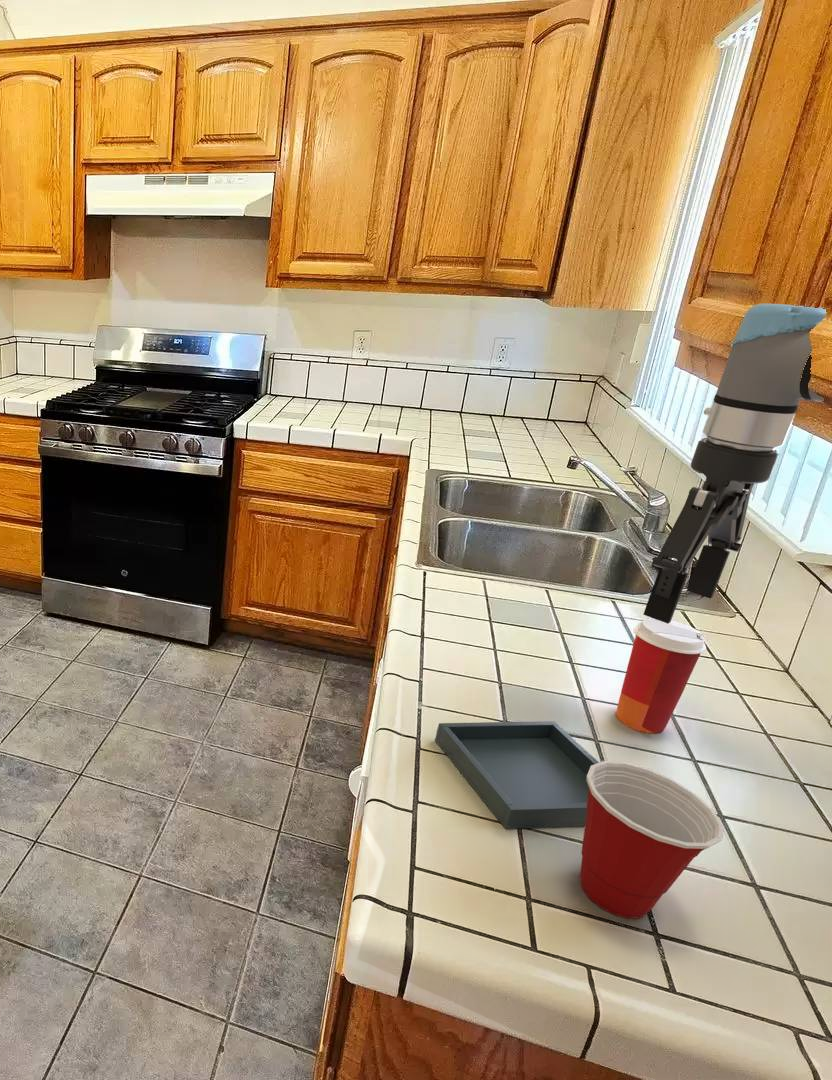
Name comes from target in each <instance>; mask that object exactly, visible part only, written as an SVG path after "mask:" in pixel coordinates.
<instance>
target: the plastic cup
mask: <svg viewBox="0 0 832 1080" xmlns="http://www.w3.org/2000/svg"><path fill="white" fill-rule="evenodd" d="M586 781H587V783H588V786H589V787H588V789H589V791H588V802H587V815H586V823H585V826H584V830H583V838H582V846H581V863H580V864H581V865H580V870H579V879H580V881H579V882H580V886H581V889H582V891H583V892H584V894H585V895H586V896H587V897H588V899H589V900H590V901H591V902H592V903H594V904H595V905H597V906H598V907H599V908H601V910H604V911H607V912H609V913H610V914H612V915H614V916H618V917H622V918H625V919H640V918H643V917H644V916H646V915H647V914H648V913H649V912H651V911H652V909H653V908H654V907H655V906H656V904H657V903H658V901H659V900H660V899H661V897H662V896H663V895H664V894H666V893H667V892H668V891H669V889H670V888H671V887H672V886H673V884H674V883H675V882H676V881H677V880H678V878H679V877H680V876H681V875H682V873H683V872H684V871H685V869H687V867H688V866H689V865H690V863H691V862H692V861H693V860H694V859H695V858H696V857H697V856H699V855H700V853H702V852H703V851H705V850H707V849H709V848H712V846H714V845H717V844H718V843H720V842H722V841H723V839H724V830H725V826H724V825H723V823H722V822H721V820H720V818H719V816H718V815H717V813H716V811H715V810H714V809H713V808H712V807H711V806H710V805H708V804H707V803H706V802H705V801H704V800H703V799H702V798H701V797H700V796H699V795H697V793H695V792H693V791H692V790H690V789H688V788H687V787H685V786H684V785H682V784H680V783H679V782H677V781H676V780H674V779H673V778H671V777H668V776H666V775H663V774H661V773H659V772H657V771H655V770H652V769H650V768H648V767H644V766H640V765H638V764H633V763H629V762H626V761H615V760H614V761H613V760H601V761H599V763H597V764H594V765H592V766H591V767H590V769H589V772H588V774H587V779H586Z"/></svg>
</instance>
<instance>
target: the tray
mask: <svg viewBox="0 0 832 1080" xmlns="http://www.w3.org/2000/svg"><path fill="white" fill-rule="evenodd" d="M434 741H435V742H436V744H437V745H438V746H439V747H440V749H441V750H442V752H444V754H445V755H446V756H447V757H448V759H449V760H450V761H451V762H452V764H453V765H454V766H455V767H456V769H457V770H458V771H459V773H461V775H462V776H463V778H464V779H465V780H466V781H467V783H468V784H469V785H470V786H471V787H472V789H473V790H474V791H475V793H476V794H477V795H478V797H479V798H480V799H481V800H482V801H483V802H484V804H485V805H486V806H487V808H488V809H489V810H490V811H491V813H492V814H493V815H494V816H495V818H496V819H497V820H498V822H499V823H500V824H501V825H502V826H503V828H504V829H505V830H515V829H517V830H518V829H519V830H521V829H542V828H543V829H547V828H548V829H549V828H576V827H577V828H578V827H585V823H586V815H587V802H588V791H589V789H588V787H589V786H588V783H587V781H586V779H587V774H588V772H589V769H590V767H591V766H592V765H594V764H597V763H600V761H598V760H597V759H596V758H595V757H594V756H593V755H592V754H591V753H589V752H588V750H587V749H585V748H584V747H583V746H582V745H581V744H580V743H578V741H576V740H575V738H573V737H572V736H571V735H570V734H569V733H568V732H567V731H566V730H565V729H563V728H562V727H561V725H559V724H558V723H557V722H556V721H555V720H543V721H540V720H539V721H538V720H537V721H536V720H535V721H491V722H490V721H489V722H488V721H487V722H486V721H485V722H483V721H481V722H439V723H438V726H437V730H436V734H435V738H434Z"/></svg>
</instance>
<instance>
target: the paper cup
mask: <svg viewBox="0 0 832 1080" xmlns="http://www.w3.org/2000/svg"><path fill="white" fill-rule="evenodd" d="M632 632H633V634H635V636H634V641H633V645H632V648H631V651H630V652H631V653H630V656H629V660H628V663H627V668H626V671H625V675H624V679H623V683H622V686H621V690H620V694H619V700H618V702H617V707H616V713H615V716H616V719H618V721H620V722H621V723H622V724H624V725H625V726H627V727H629V728H631V729H633V730H635V731H637V732H638V731H639V732H642V733H645V734H646V733H647V734H656V735H657V734H661V733H663V732H664V731H665V729H666V727H667V725H668V724H669V721H670V719H671V718H672V715H673V713H674V712H675V709H676V708H677V705H678V703H679V701H680V699H681V697H682V695H683V693H684V690H686V689H685V688H686V687H687V684H688V681H689V679H690V678H691V675H692V673H693V671H694V669H695V667H696V665H697V663H698V661H699V658H700V656H701V654H702V653H705V652H706V651H707V646H706V643H705V640H704V636H703V633H702V632H700V631H699V630H697V629H696V628H694V627H692V626H690V625H688V624H685V623H682V622H679V621H676V620H672V619H671V622H670V623H668V624H667V623H665V622H662V621H659V620H657V619H654V618H651V617H649V618H645V619H643V620H642V621H640V622H638V624H637V625H636V626H635V627H633V628H632Z"/></svg>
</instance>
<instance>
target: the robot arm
mask: <svg viewBox="0 0 832 1080" xmlns="http://www.w3.org/2000/svg"><path fill="white" fill-rule="evenodd" d="M795 305H796V304H786V303H785V304H784V303H783V304H782V303H758V304H755V305H753V306H751V307H750V308H748V309H747V311H746V312H745V314H744V316H743V318H742V320H741V323H740V326H739V327H738V329H737V332H736V334H735V336H734V339H733V341H731V342H730V351H729V354H728V357H727V360H726V363H725V366H724V369H723V371H722V375H721V378H720V381H719V383H718V387H717V390H716V392H715V394H714V396H713V397H714V398H713V401H712V404H711V407H706V408H705V409H704V410H703V415H705V416H707V419H706V420H705V424H704V427H703V429H702V434H703V435H704V436H705V437H703V438H702V439H701V440H698V442H697V445H696V448H695V450H694V452H693V456H692V459H691V462H690V469H692V470H693V471H695V472H696V473H698V474H702V475H703V476H704V477H705V480H704V482H703V484H702V486H701V487H700V486H699V487H696V486H692V487H691V488H690V489H689V491H688V495H687V497H686V500H685V503H684V505H683V507H682V509H681V511H680V513H679V514H678V517H677V518H676V520H675V522H674V524H673V526H672V528H671V529H670V532H669V534H668V535H667V537H666V540H665V542H664V544H663V545H662V547H661V549H660V551H659V553H658V555H657V557H656V558H655V557H654V558H653V559H652V562H651V565H652V566H654V567H657V568H659V569H658V572H657V574H656V577H655V580H654V583H653V586H652V588H651V590H650V594H649V596H648V600H647V603H646V606H645V608H644V611H643V616H645V617H649V618H654V619H657V620H659V621H662V622H665V623H667V624H668V623H670V622H671V620H672V619H673V617H674V614H675V611H676V608H677V606H678V603H679V600H680V598H681V595H682V592H683V590H684V588H685V584H686V581H687V578H688V577H689V572H687V571H688V569H689V567H690V565H691V564H692V562H693V561H694V559H695V557H696V556H697V554H698V552H699V551H700V549H701V551H700V553H699V556H698V559H697V561H696V564H695V566H694V570H693V572H692V575H691V577H690V580H689V583H688V585H687V589H686V592H689V593H692V594H695V595H697V596H701V597H704V598H707V599H712V598H713V597H714V594H715V591H716V589H717V587H718V584H719V582H720V579H721V577H722V574H723V571H724V569H725V566H726V564H727V560H728V559H729V556H730V553H731V551H732V552H736V553H738V552H739V551H740V549H741V548H742V544H741V543H739V541H741V539H742V533H743V528H744V524H745V520H746V515H747V511H748V507H749V502H750V498H751V494H752V491H753V488H754V485H756V484H763V483H766V482H767V481H769V480H770V479H771V475H772V474H773V471H774V468H775V465H776V463H777V460H778V458H779V455H780V453H778V450H777V448H781V447H783V446H784V444H785V442H786V440H787V437H788V434H789V431H790V429H791V427H792V424H793V422H794V419H795V416H796V412H797V410H798V407H799V404H800V402H801V400H804V401H809V402H819V403H823V402H822V401H824V398H823V397H821V396H819V395H817V394H816V393H814V392H813V391H811V390H810V389H808V383H809V381H810V380H811V374H810V372H811V370H810V368H811V359H812V357H811V355H810V353H811V351H812V346H811V340H810V338H809V332H810V331H811V329H813V328H814V327H815V326H816V325H818V324H819V322H821V321H822V320H823V319H824V318H825V316H826V313H827V312H826V309H823V308H824V307H818V308H814V307H815V306H810V307H804V306H805V305H799V306H795ZM809 355H810V356H809ZM808 357H809V358H808ZM807 359H808V360H807ZM806 361H807V362H806ZM805 363H806V365H805ZM804 366H805V367H804ZM803 368H804V370H803ZM802 371H803V374H802ZM801 375H802V378H801ZM800 379H801V381H800ZM706 539H707V544H704V542H705V541H706ZM703 544H704V545H703ZM701 547H702V548H701Z"/></svg>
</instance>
